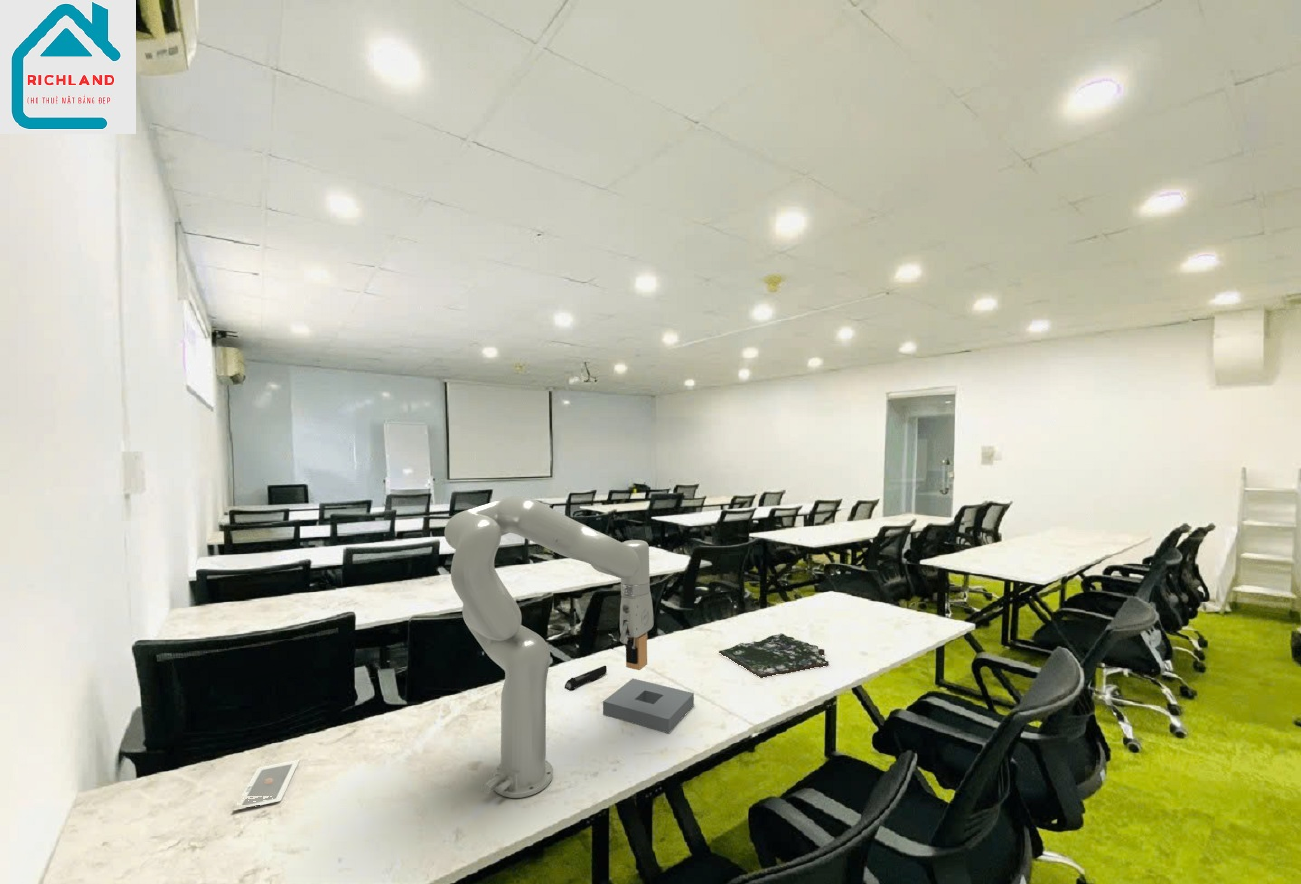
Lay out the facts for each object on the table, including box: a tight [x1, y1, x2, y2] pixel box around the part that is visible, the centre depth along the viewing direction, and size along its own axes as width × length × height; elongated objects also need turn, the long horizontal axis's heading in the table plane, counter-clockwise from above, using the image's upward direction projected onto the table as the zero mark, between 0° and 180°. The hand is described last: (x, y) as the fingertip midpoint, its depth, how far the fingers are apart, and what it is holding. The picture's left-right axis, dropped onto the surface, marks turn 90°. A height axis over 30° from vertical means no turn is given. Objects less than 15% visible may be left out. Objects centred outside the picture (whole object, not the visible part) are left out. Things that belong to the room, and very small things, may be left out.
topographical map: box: [718, 633, 830, 679], centre depth 172 cm, size 26×33×3 cm
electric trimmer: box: [564, 665, 608, 692], centre depth 154 cm, size 4×16×3 cm, turn 137°
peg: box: [625, 633, 648, 671], centre depth 128 cm, size 4×4×8 cm
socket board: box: [602, 678, 695, 734], centre depth 136 cm, size 16×20×4 cm
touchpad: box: [235, 758, 301, 806], centre depth 105 cm, size 8×15×2 cm, turn 23°
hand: (636, 658), depth 128 cm, fingers closed on peg, 4 cm apart
